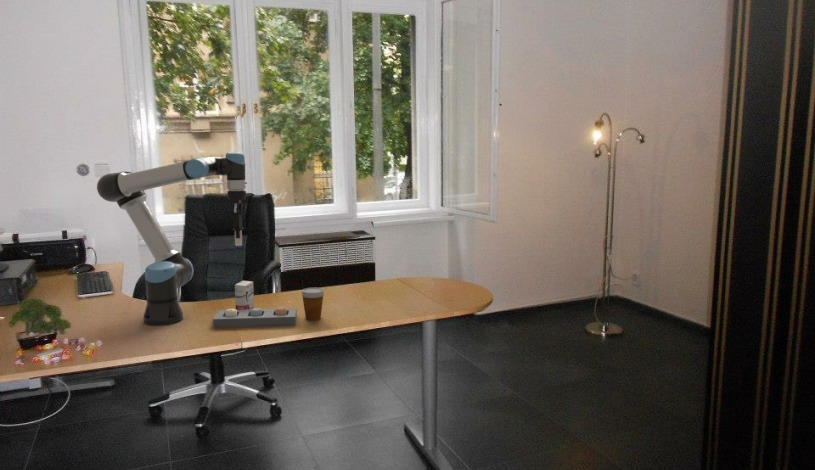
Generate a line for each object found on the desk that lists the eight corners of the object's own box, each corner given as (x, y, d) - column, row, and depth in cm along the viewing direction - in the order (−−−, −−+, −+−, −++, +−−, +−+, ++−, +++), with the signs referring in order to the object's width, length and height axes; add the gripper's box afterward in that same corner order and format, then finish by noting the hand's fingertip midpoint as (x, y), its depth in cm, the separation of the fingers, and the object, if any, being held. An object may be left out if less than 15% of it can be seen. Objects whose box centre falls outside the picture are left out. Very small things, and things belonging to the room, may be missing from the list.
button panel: (213, 327, 234) (213, 319, 234) (218, 318, 246) (218, 310, 246) (295, 325, 239) (295, 316, 238) (296, 316, 251) (296, 308, 250)
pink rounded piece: (275, 322, 241) (274, 310, 240) (276, 319, 246) (275, 307, 245) (286, 322, 242) (286, 310, 241) (287, 318, 246) (287, 306, 246)
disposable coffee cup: (305, 322, 242) (305, 294, 240) (298, 316, 251) (298, 288, 249) (327, 319, 247) (327, 291, 245) (320, 313, 255) (319, 286, 253)
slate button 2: (249, 323, 240) (249, 311, 239) (251, 319, 244) (250, 307, 244) (261, 322, 241) (261, 310, 240) (262, 319, 245) (262, 307, 244)
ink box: (245, 312, 255) (244, 285, 254) (235, 311, 256) (234, 285, 254) (254, 306, 264) (253, 280, 262) (244, 305, 265) (243, 280, 263)
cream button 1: (224, 324, 239) (224, 311, 238) (226, 320, 243) (225, 308, 242) (236, 323, 239) (235, 311, 238) (237, 320, 244) (237, 308, 243)
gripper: (243, 191, 240) (245, 248, 244) (247, 188, 253) (249, 242, 257) (224, 191, 239) (227, 248, 243) (229, 188, 252) (231, 242, 256)
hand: (238, 245), depth 250 cm, fingers closed
